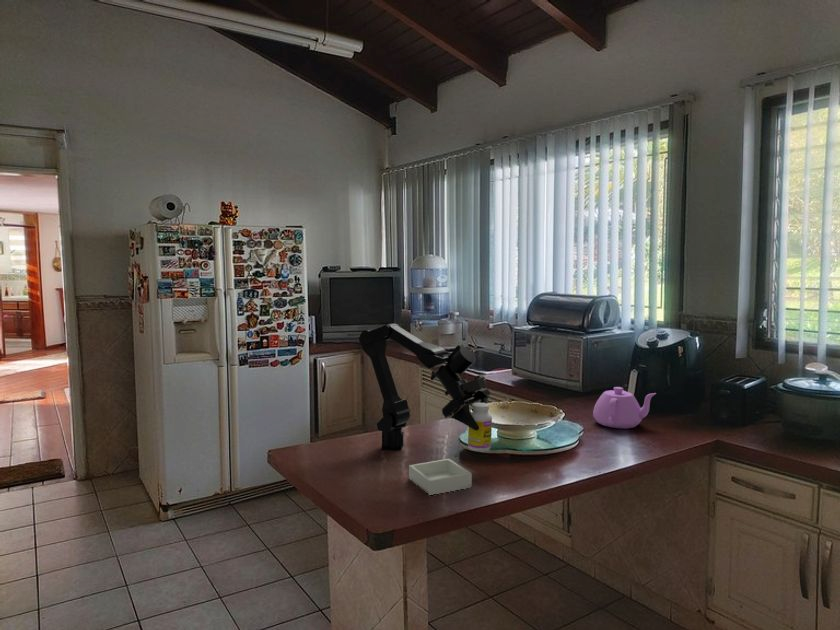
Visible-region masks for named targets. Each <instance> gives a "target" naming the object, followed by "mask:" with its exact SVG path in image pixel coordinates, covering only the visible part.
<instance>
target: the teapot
mask: <svg viewBox="0 0 840 630" xmlns="http://www.w3.org/2000/svg"><path fill="white" fill-rule="evenodd" d="M656 394H657V393H656V392H654V393H648V394H647V395H645V397H644V402H643V406H642V407H641V405H640V404H639V401H638V400H637V398H636V397H635V395H633V393H632V392H629V391H626V390H624V387H621V386H614V387H613V390H612V389H610V390H605V391H603V392H602V394H601V395H600V396H599V398H598V399H597V400H596V402H595V405H594V407H593V412H592V416H593V418H594V419H595V421H596V422H597V423H598V424H600V425H602V426H605V427H609V428H615V429H625V430H626V429H627V430H628V429H633V428H636V427H637V426H638V425H639V424H640V423H641V422H642V420H643V419H644V418H646V417H647V415H648V413H649V412H650V406H651V405H650V404H651V399H652V398H653V396H655V395H656Z"/></svg>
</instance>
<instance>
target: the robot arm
mask: <svg viewBox="0 0 840 630" xmlns="http://www.w3.org/2000/svg"><path fill="white" fill-rule="evenodd" d="M389 339H390V340H392V341H393V342H395V343H396V344H398V345H400V346H401V347H403V348H404V349H406V350H408V351H409V352H411V353H412V354H413V355H415V357H416V359H417V360H418V362H420V364H421V365H422V366H424V367H425V368H427V369H433V368H437V369H435V370H431V375H430V380H431V381H436V380H438V381H439V382H440V384H441V385H442V386H443V388H444V390H445V392H444V395H445V396H450V398H451V400H449V402H448V403H446V404H445V406H443V407H442V409H441V414H442V416H443V417H444V418H445V419H448V418H451V419H452V420H453V419H454V420H455V421H457V422H458V421H459V422H460V423H461V424H464V425H465V426H467V427H471V428H472V429H474V430H476V431H477V430H478V429H479V427H478V425H477V423H476V422H475V420H474V418H473V417H472V415H471V412H473V408H472V409H471V412H470V406H471V407H472V406H473V404H474V403H486V404H488V400H489V397H490V396H491V395H492V393H491V392H490V391H489V389H488V388H487V383H488V379H487V378H485V376H484V375H483V374H478V375H475V376H474V379H473V380H470V381H469V380H467V379H466V378H463V379H462V376H460V374H461V375H463V374H464V373H465V372H466V371H468V369H470V367H472V365H473V364H474V363H476V361H477V357H476V354H475V353H474V352H473V351H472V350H471V349H469V348H468V347H465V346H464V345H463V344H457V346H456V347H455V348H454V350H452V352H449V351H446V349H445V348H444V347H442V346H439V345H436V344H434V343H428V342H425V341H423V340H421V339H420V338H418V337H417V336H415V335H413V334H411V332H409V331H407V330H406V329H404V328H402V327H400V326H399V324H397V323H394V322H393V323H386V324H384V325H382V326H380V327H377V328H372V329H367V330H365V329H364V330H363V331H361V332H360V335H359V336H358V340H359V344H360V347H361V348H362V350H363V352H364V353H365V354H366V355H367V356H368V357H369V358H370V361H371V364H372V367H373V370H374V374H375V377H376V380H377V383H378V387H379V390H380V393H381V396H382V400H383V403H382V407H381V413H382V418H380V420H378V421H377V423H376V427H377V428H376V429H377V431H380V432H381V446H380V450H382V451H402V449H403V448H402V447H404V441H405V440H404V439H405V438H404V437H405V433H404V431H403V428H405V427H406V426H407V423H408V421H409V419H410V418H411V414H410V412H411V409H410V407H409V403H408V400H407V399H406V398H405V399H403V398H401V397H400V396H399V394H398V391H397V387H396V384H395V381H394V378H393V375H392V374H393V373H392V372H391V368H390V365H389V362H388V359H387V356H386V350H387V345H388V344H387V341H388V340H389ZM438 367H439V368H438Z"/></svg>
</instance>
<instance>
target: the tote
mask: <svg viewBox="0 0 840 630" xmlns="http://www.w3.org/2000/svg"><path fill="white" fill-rule="evenodd" d="M472 474H473V473H472V472H470V471H469V470H467V469H466V468H464V467H463V466H462V465H460V464H458V463H456V462H455V461H454V460H453V459H451V458H445V459H440V460H432V461H427V462H421V463H415V464H409V465H408V480H409V479H410V480H409V481H411V480H412V481H413V482H414V483H415V484H416V485H415V484H414V483H413V482H412V481H411V482H412V483H413V484H414V485H415V486H417V485H418V486H419V487H420V488H421V489H423V490H424V491H425V492H426V493H428V494H429V495H433V494H439V493H444V494H446V493H445V492H449V493H451V492H450V491H454V492H456V491H455V490H459V491H461V490H460V489H464V490H467V489H466V488H469V489H472V488H471V487H472V481H473V480H472V479H473V478H472V477H473V475H472ZM418 486H417V487H418ZM419 487H418V488H419ZM420 488H419V489H420ZM421 489H420V490H421ZM423 490H422V491H423ZM424 491H423V492H424ZM425 492H424V493H425ZM426 493H425V494H426ZM429 495H428V496H429ZM439 495H440V494H439Z"/></svg>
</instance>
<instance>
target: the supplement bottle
mask: <svg viewBox="0 0 840 630" xmlns="http://www.w3.org/2000/svg"><path fill="white" fill-rule="evenodd" d="M471 407H472V409H473V411H471V412H470V413H471V415H472V417H473V418H474V420H475V422H476V423H477V425H478V427H479V429H478V430H477V431H476V430H474V429H472V428H471V427H469V426H467V428H468V429H467V430H468V431H467V434H468V435H467V447H468V448H469V449H470V450H472V451H475V452H487V451H489V450H490V449H492V448H491V447H492V431H493V430H492V429H493V427H492V424H493V416H492V414H491V413H490V412H489V409H490V405H489V404H488V403H474V404H473V406H471Z"/></svg>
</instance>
